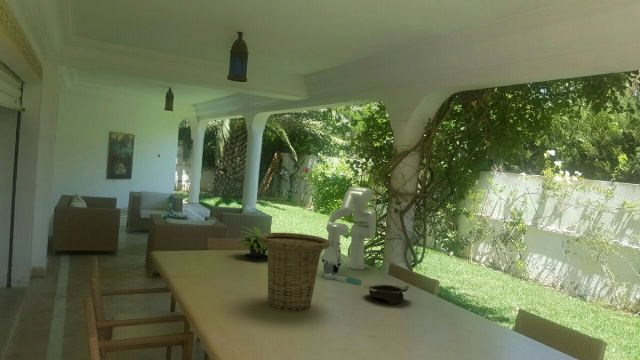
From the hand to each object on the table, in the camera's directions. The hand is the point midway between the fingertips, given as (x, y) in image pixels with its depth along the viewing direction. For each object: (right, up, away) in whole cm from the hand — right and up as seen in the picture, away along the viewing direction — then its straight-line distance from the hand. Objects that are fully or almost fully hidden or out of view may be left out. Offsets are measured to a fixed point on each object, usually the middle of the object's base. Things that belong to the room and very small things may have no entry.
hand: (330, 271), depth 306 cm
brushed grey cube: (0, -1, 0) cm, 1 cm away
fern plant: (-52, +1, +39) cm, 65 cm away
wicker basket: (-22, -4, -66) cm, 70 cm away
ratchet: (+7, -5, -4) cm, 9 cm away
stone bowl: (+29, -8, -41) cm, 50 cm away
